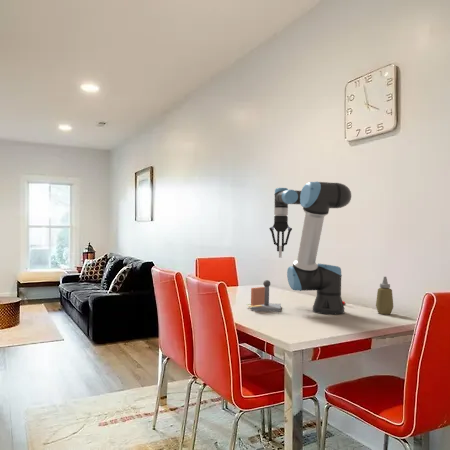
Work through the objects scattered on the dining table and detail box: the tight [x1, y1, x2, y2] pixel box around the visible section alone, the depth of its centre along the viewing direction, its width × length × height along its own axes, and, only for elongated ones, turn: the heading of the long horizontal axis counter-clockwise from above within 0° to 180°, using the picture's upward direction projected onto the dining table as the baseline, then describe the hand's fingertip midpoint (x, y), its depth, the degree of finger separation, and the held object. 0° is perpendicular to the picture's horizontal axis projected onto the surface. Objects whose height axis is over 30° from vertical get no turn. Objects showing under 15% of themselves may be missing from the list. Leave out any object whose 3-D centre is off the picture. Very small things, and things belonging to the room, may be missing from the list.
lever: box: [250, 279, 271, 306], centre depth 213 cm, size 12×4×12 cm, turn 133°
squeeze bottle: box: [375, 276, 394, 315], centre depth 209 cm, size 8×8×18 cm
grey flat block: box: [246, 302, 281, 313], centre depth 216 cm, size 17×14×2 cm
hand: (280, 257), depth 241 cm, fingers closed
